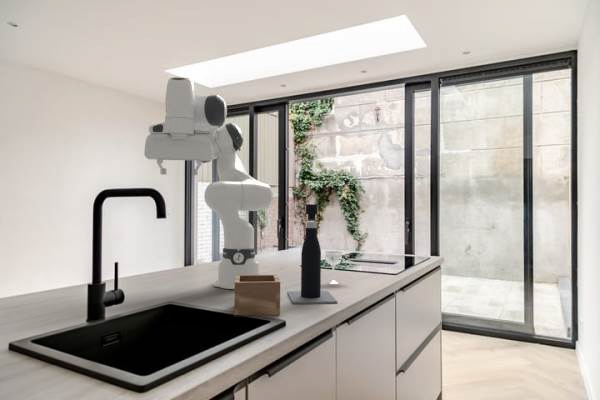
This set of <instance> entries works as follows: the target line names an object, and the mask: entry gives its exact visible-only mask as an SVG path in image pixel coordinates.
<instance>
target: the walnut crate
mask: <svg viewBox="0 0 600 400" xmlns="http://www.w3.org/2000/svg"><path fill="white" fill-rule="evenodd" d="M233 308H234V310H233V311H234V312H233V313H234V317H236V316H235V315H255V316H280V315H281V281H280V279H279V276H278V274H259V275H236V278H235V289H234V307H233Z"/></svg>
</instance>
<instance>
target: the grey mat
mask: <svg viewBox="0 0 600 400" xmlns="http://www.w3.org/2000/svg"><path fill="white" fill-rule="evenodd" d="M287 295H288V298H289V299H290V301H291V302H290V303H291V304H292V305H311V304H312V305H315V304H317V305H318V304H319V305H321V304H324V305H325V304H338V300H337V299H336V298H335V297H334V296H333V295H332V294H331V293H330V291H329V290H321V293H320V297H319V298H303V297H301V290H299V291H298V290H297V291H295V290H294V291H291V290H290V291H287Z"/></svg>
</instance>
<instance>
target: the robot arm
mask: <svg viewBox="0 0 600 400" xmlns="http://www.w3.org/2000/svg"><path fill="white" fill-rule="evenodd" d="M194 84H195V83H194V80H192V79H191V78H189V77H178V76H175V77H171V78H169V79H168V80H167V83H166V90H165V113H166V114H165V117H164V121H163V122H160V123H156V124H153V125H150V126H148V132H149V134H148V135H147V136H146V139H145V143H144V153H143V154H144V156H145V158H146V159H148V160H156V164H157V165H158V167H159V169H160V175H165V176H166V175H167V168H164V167H163V165H162V164H163V163H164V161H195V163H196V164H197V165H196V166H195V168H192V170H191V171H192V172H191V173H192V176H199V169H200V167H201V166H202V165H203V164H206V163H210V162H212V161H213V160H216V159H217V165H216V166H217V167H216V168H217V175H218V178H219V179H218V180H219V181H215V182H210V183H208V185H207V186H206V188H205V190H204V195H203V196H204V198H203V199H204V202H205V204H206V205H207V207H208V208H209V209H210V210H212V211H213V212H214V213H215V214H216V215H217V216H218V219H219V220H220V221H221V224H222V230H223V247H222V258H223V259H222V260H221V261H220V262H219V263H218V264H217V265H218V266H217V269H218V271H217V280H216V281H214V282H213V283H212V287H217V288H222V289H229V290H235V278H236V275H260V271H259V269H260V265H259V262H258V261H257V260H256V259H255V257H256V248H255V229H254V226H253V225H252V224H251V223H250V222H249V221H247V220H245V219H243V218H241V217H240V215H239V212H240V211H241V212H259V211H263V210H268V209H269V208H270V207H271V205H272V204H273V201H274V192H273V189H272V187H271V186H270V185H269V184H268V183H265V182H261V181H259V180H257V179H255V178H254V177H252V176H251V175H250V174H248V172H247V171H246V168H245V166H244V163H243V162H242V160H241V159H240V157H239V156H238V153H237V152H238V151H239V152H240V151H241V148H242V146H243V143H244V136H243V132H242V129H241V128H240V127H239V126H238V125H237V124H235V123H233V122H229V123H226V124H224V123H225V121H226V119H227V115H228V107H227V102H226V101H225V99H224V98H223V97H222V96H220V95H219V94H210V95H199V94H198V95H196V93H195V92H196V90H195V85H194Z"/></svg>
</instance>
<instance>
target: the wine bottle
mask: <svg viewBox="0 0 600 400" xmlns="http://www.w3.org/2000/svg"><path fill="white" fill-rule="evenodd" d="M318 206H319V205H318V204H313V203H312V204H309V203H308V204H307V203H306V204H305V215H307V222H306V228H305V237H304V240H303V243H302V247H301V254H300V255H301V262H300V263H301V264H300V265H301V267H300V271H301V272H300V278H301V279H300V280H301V281H300V291H301V297H303V298H319V297H320V293H321V291H322V290H321V285H322V283H321V282H322V281H321V277H322V275H321V274H322V271H321V270H322V261H321V260H322V250H321V245H320V241H319V238H318V228H317V222H316V215H318V210H319V207H318Z"/></svg>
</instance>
